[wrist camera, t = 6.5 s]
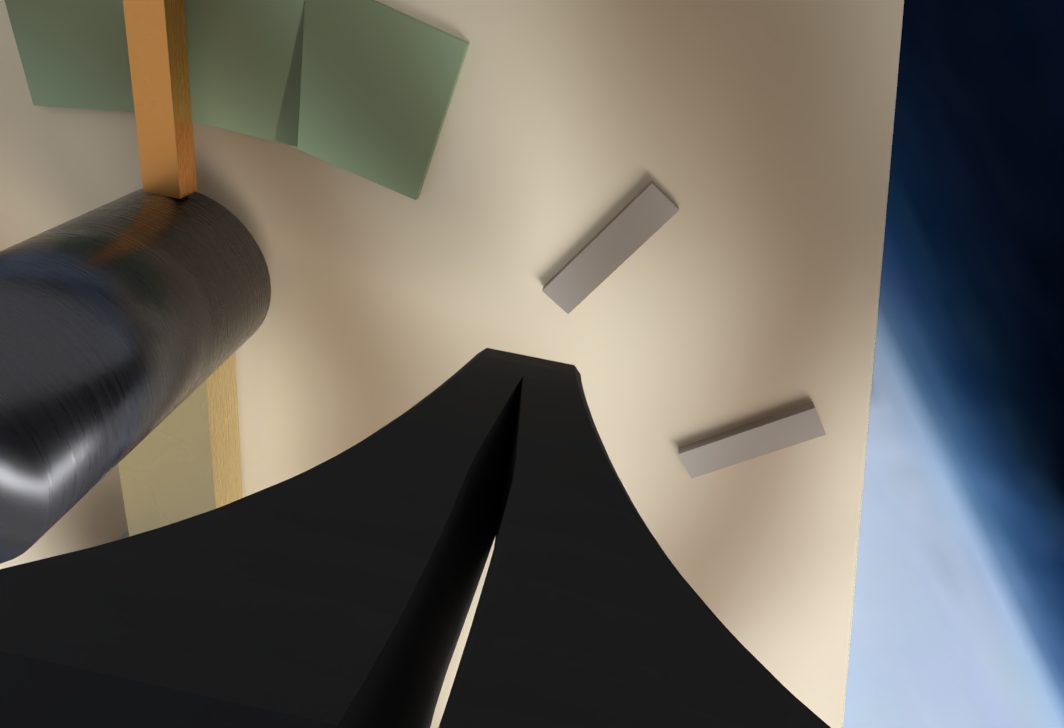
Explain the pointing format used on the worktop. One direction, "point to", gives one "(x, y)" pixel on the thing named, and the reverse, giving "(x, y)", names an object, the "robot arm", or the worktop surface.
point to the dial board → (532, 247)
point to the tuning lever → (129, 328)
